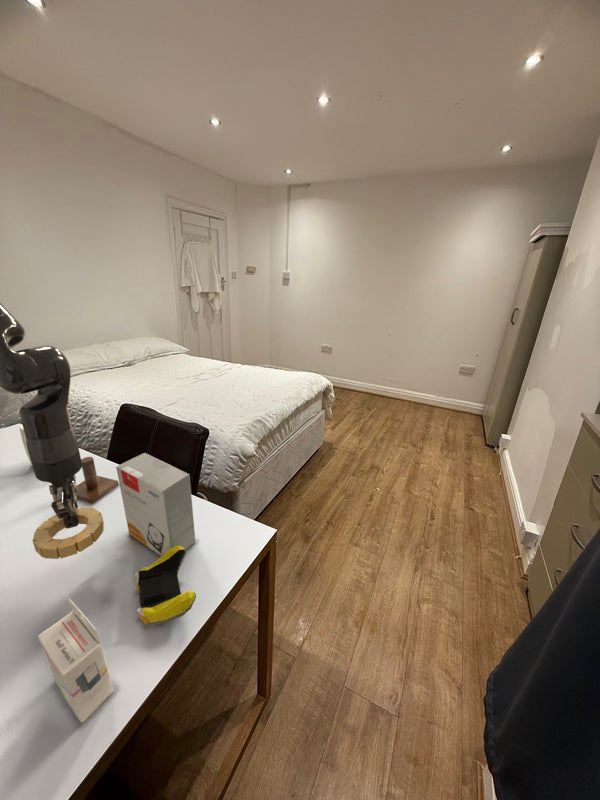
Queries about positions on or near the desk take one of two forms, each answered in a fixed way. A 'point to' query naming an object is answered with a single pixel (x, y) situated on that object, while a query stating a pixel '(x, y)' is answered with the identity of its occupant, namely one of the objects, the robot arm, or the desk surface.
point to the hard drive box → (157, 503)
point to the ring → (70, 545)
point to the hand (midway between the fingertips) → (72, 521)
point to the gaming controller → (163, 589)
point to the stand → (93, 483)
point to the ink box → (77, 662)
